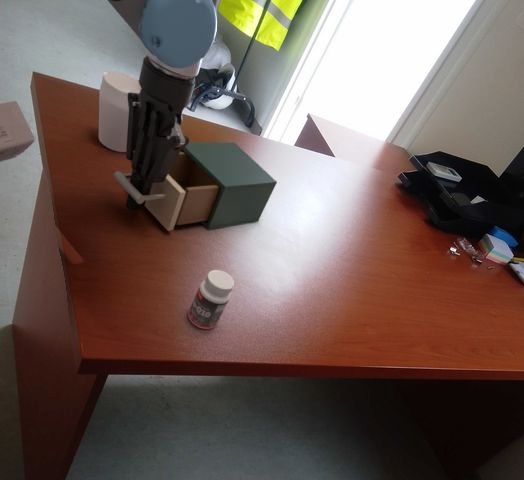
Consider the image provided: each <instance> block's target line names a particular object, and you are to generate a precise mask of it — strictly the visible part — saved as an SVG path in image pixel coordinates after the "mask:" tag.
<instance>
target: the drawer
mask: <svg viewBox="0 0 524 480" xmlns="http://www.w3.org/2000/svg"><path fill="white" fill-rule="evenodd" d="M131 174H132V172H129V173H123V172H121V171H120V170H117V171H115V172H114V174H113V178H114V179H115V180H116V182H118V184H119V185H120V186H121V187H122V188H123V189H124V190H125V191H126V192H127V193H128V194H130V195H131V196H132V197H133V199H134V200H135V201H136V202H137V203H138V204H141V203H143V202H144V201H146V202H145V206H144V207H145V208H146V209H147V211H149V212H150V213H151V214H152V216H154V218H155V219H156V220H157V222H159V223H160V224H161V226H163V227H164V229H165V230H166V231H170V232H171V231H173V230H174V229H175V226H181V225H188V224H194V223H201V221H207V220H209V218H210V215H211V213H212V210H213V208H214V205H215V203H216V200H217V197H218V195H219V192H220V190H221V187H220V186H219V185H218V184H217V183H216V182H215V181H214V180H213V179H212V178H211V177H210V176H209V175H208V174H207V173H206V172H205V171H204V170H203V169H202V168H201V167H200V166H199V165H198V164H197V163H196V162H195V161H194V160H193V159H192V158H191V157H190V156H189V155H188V154H187V153H186V152H180V153H179V155H178V157H177V158H176V160H175V162H174V164H173V166H172V168H171V169H170V171H169V173H168V175H167V177H166V179H165V180H164V182H160V183H153V185H152V188H151V192H150V195H145V196H142V195H141V194H140V192H139V191H138V190H137V189H136V188H135V187H134V186H133V185H132V184H131V183H130V180H129V179H131Z"/></svg>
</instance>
